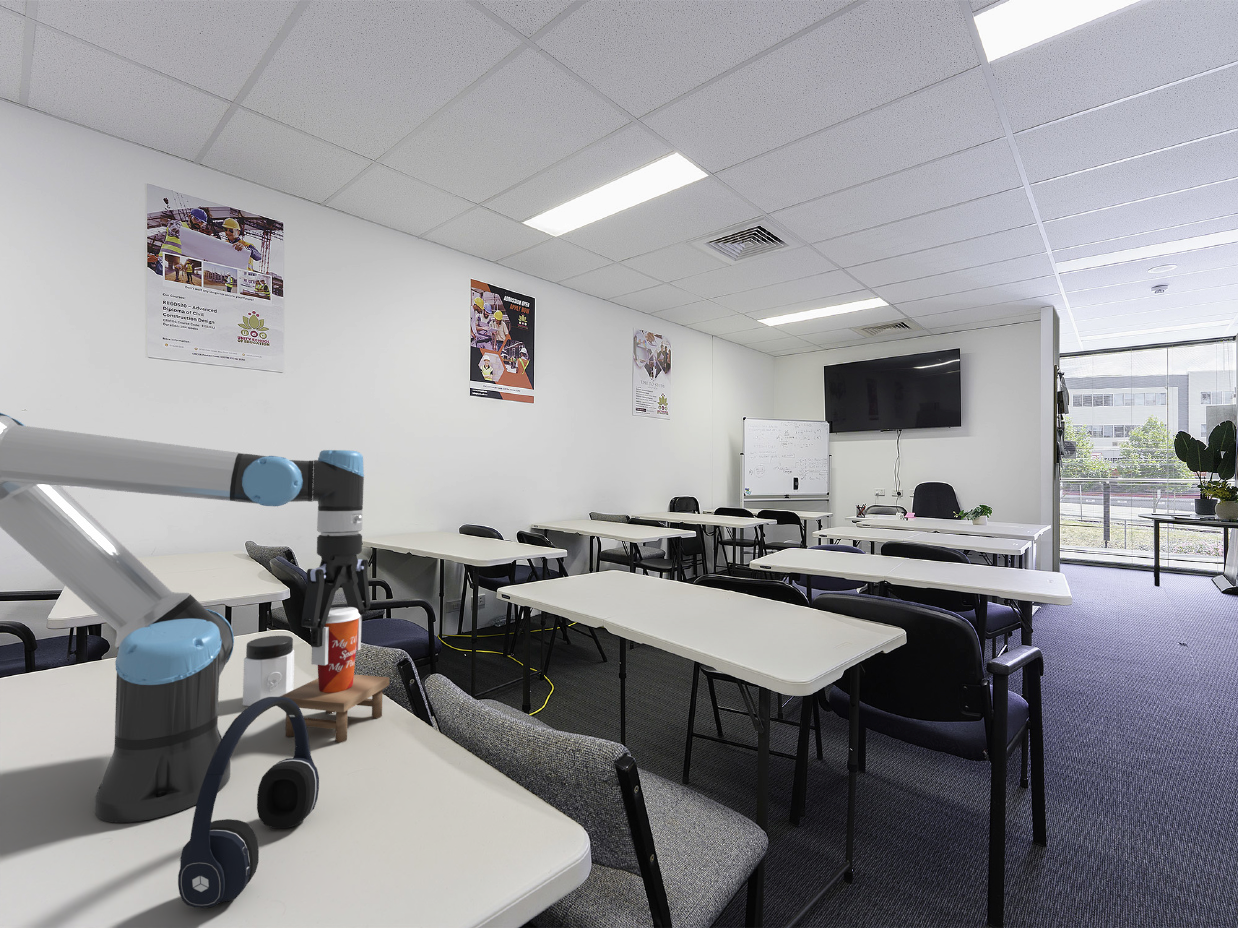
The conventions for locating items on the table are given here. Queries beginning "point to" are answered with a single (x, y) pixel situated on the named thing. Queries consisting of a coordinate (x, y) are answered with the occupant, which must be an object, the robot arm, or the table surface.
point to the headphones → (230, 847)
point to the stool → (338, 702)
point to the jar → (268, 668)
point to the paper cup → (339, 650)
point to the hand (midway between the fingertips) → (337, 656)
